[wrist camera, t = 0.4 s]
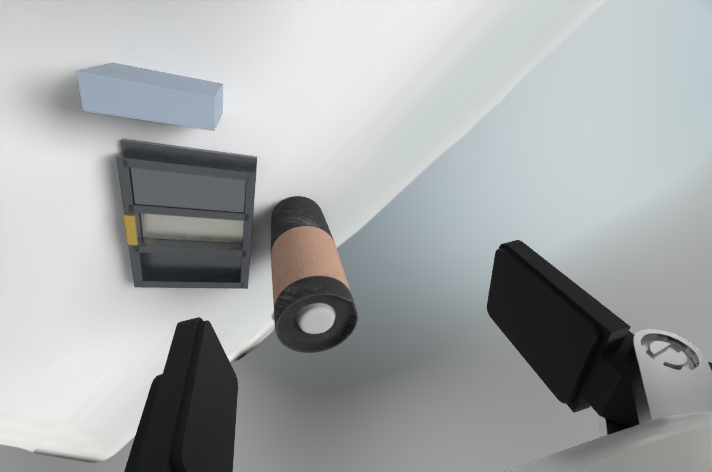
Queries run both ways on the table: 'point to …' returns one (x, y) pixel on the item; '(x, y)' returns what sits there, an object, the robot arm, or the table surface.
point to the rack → (187, 215)
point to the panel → (150, 95)
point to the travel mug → (308, 279)
